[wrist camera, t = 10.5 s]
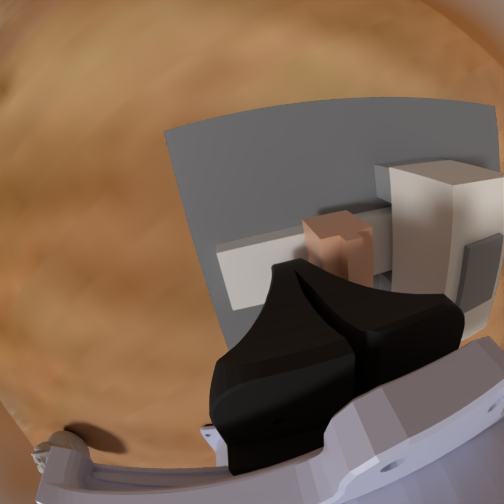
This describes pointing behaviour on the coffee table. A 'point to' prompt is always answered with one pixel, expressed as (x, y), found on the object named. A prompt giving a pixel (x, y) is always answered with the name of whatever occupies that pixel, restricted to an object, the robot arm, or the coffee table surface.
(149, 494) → the robot arm
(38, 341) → the coffee table surface
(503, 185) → the block
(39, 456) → the grey sculpted head
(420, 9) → the coffee table surface
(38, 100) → the coffee table surface
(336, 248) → the rail clip
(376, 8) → the coffee table surface
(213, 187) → the rail board
